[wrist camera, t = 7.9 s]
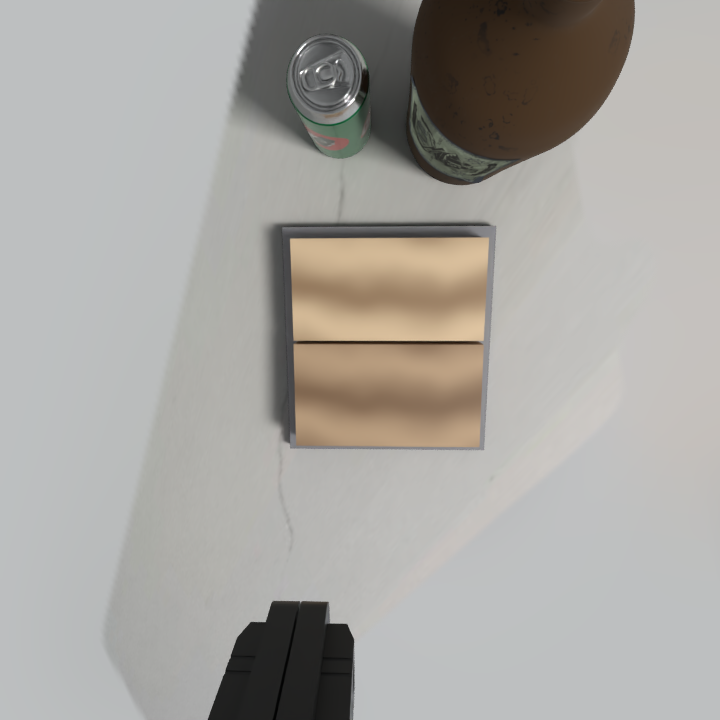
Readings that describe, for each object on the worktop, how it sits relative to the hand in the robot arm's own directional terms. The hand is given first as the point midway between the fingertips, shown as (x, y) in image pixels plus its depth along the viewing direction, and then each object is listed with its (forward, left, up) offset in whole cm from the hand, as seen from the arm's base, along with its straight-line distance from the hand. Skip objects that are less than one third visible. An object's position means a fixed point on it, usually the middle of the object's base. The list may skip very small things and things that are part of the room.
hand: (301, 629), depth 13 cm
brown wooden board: (+2, +3, -31) cm, 31 cm away
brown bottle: (-20, +9, -32) cm, 39 cm away
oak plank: (-7, +3, -32) cm, 33 cm away
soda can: (-20, -1, -32) cm, 38 cm away
